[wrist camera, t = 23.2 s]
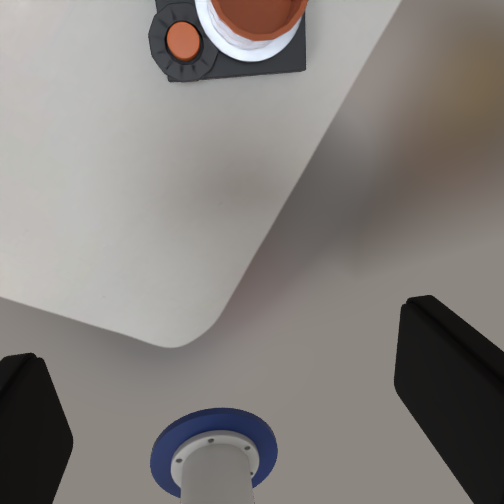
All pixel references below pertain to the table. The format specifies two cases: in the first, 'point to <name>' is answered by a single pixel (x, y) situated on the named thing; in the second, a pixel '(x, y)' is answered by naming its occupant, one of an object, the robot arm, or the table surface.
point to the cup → (254, 20)
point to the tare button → (183, 41)
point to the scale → (214, 49)
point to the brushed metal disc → (238, 52)
